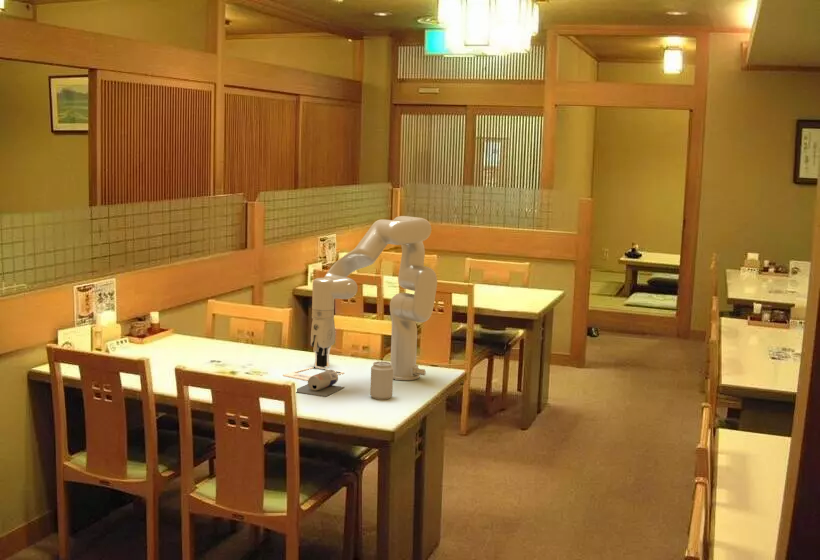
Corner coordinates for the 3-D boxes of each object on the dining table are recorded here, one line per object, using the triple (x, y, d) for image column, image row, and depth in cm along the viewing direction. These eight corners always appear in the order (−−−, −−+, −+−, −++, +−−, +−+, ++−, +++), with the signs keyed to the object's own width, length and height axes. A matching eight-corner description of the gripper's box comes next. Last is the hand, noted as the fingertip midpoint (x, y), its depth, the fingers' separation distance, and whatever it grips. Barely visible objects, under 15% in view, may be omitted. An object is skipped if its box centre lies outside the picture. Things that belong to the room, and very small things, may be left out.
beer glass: (332, 364, 356) (333, 327, 354) (329, 368, 349) (330, 330, 347) (314, 363, 357) (315, 326, 355) (311, 367, 350) (312, 329, 348)
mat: (344, 388, 321) (344, 386, 321) (325, 396, 308) (325, 395, 308) (311, 383, 325) (311, 382, 325) (292, 392, 313) (292, 390, 312)
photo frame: (282, 374, 335) (314, 366, 350) (282, 377, 335) (314, 368, 350) (313, 380, 327) (344, 372, 342) (313, 383, 327) (344, 374, 342)
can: (374, 400, 305) (376, 365, 303) (367, 395, 312) (368, 361, 310) (395, 399, 308) (396, 364, 306) (387, 393, 315) (388, 359, 313)
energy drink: (325, 383, 325) (307, 390, 314) (325, 368, 324) (307, 375, 314) (338, 384, 323) (320, 391, 312) (338, 369, 322) (320, 376, 311)
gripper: (322, 318, 304) (321, 371, 307) (342, 312, 318) (341, 363, 321) (302, 316, 307) (301, 369, 310) (323, 310, 321) (322, 360, 323)
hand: (321, 366), depth 315 cm, fingers closed
